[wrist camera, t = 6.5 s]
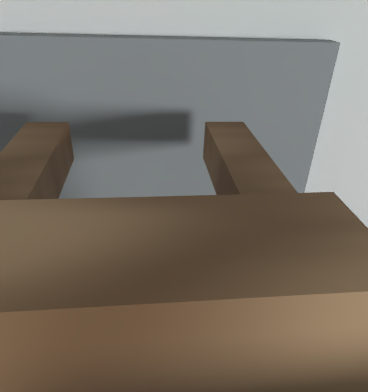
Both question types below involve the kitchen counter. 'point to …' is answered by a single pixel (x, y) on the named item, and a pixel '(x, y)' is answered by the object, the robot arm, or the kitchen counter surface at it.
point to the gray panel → (164, 104)
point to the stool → (178, 279)
